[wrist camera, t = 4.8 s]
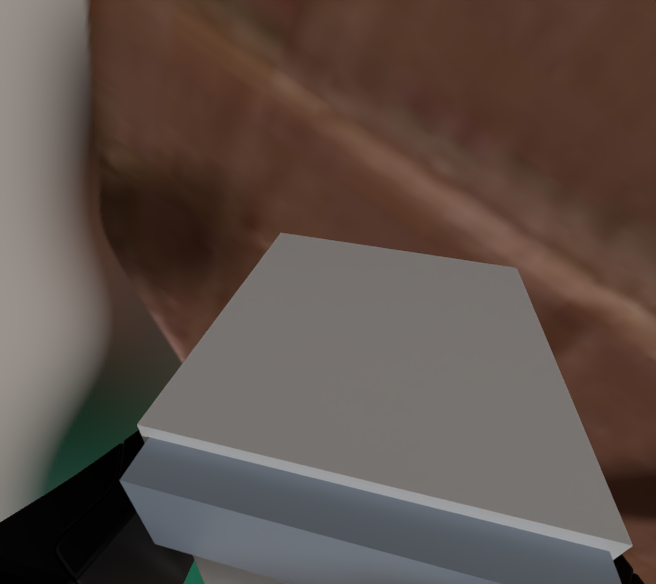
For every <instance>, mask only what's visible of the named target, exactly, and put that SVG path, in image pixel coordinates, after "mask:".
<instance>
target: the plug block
mask: <svg viewBox="0 0 656 584" xmlns="http://www.w3.org/2000/svg"><path fill="white" fill-rule="evenodd" d="M137 426H138V428H139V431H140V433H141V435H142V438H143V440H144V442H145V444H144V446H143V447H142V449H141V450H140V451H139V453H138V454H137V456H136V457H135V459H134V460H133V461H132V463H131V464H130V466H129V467H128V469H127V470H126V472H125V473H124V474H123V476H122V477H121V479H120V480H119V481H120V482H121V484H122V486H123V488H124V489H125V491H126V493H127V495H128V497H129V498H130V500H131V502H132V504H133V506H134V507H135V509H136V511H137V513H138V515H139V516H140V518H141V520H142V522H143V524H144V525H145V527H146V529H147V531H148V533H149V534H150V536H151V538H152V540H153V541H154V543H155V544H157V545H160V546H164V547H167V548H171V549H174V550H177V551H181V552H184V553H188V554H191V555H193V557H194V560H195V562H196V564H197V567H198V569H199V571H200V574H201V576H202V578H203V581H204V583H205V584H621V581H620V578H619V575H618V573H617V570H616V567H615V565H614V562H613V560H614V559H615V558H617V557H618V556H619V555H621V554H622V553H624V552H625V551H626V550H628V549H629V548H630V547H632V546H633V545H632V542H631V540H630V538H629V535H628V533H627V530H626V528H625V526H624V523H623V521H622V518H621V516H620V514H619V511H618V509H617V507H616V504H615V502H614V499H613V497H612V495H611V492H610V490H609V487H608V485H607V483H606V480H605V478H604V475H603V473H602V471H601V468H600V466H599V464H598V461H597V459H596V456H595V454H594V452H593V449H592V447H591V444H590V442H589V440H588V437H587V435H586V432H585V430H584V428H583V425H582V423H581V421H580V418H579V416H578V413H577V411H576V409H575V406H574V404H573V401H572V399H571V397H570V394H569V392H568V389H567V387H566V385H565V382H564V380H563V378H562V375H561V373H560V370H559V368H558V366H557V363H556V361H555V358H554V356H553V354H552V351H551V349H550V346H549V344H548V342H547V339H546V337H545V334H544V332H543V330H542V327H541V325H540V323H539V320H538V318H537V315H536V313H535V311H534V308H533V306H532V303H531V301H530V299H529V296H528V294H527V291H526V289H525V287H524V284H523V282H522V280H521V277H520V275H519V272H518V270H517V268H513V267H507V266H500V265H493V264H487V263H480V262H473V261H466V260H460V259H453V258H446V257H440V256H433V255H426V254H420V253H413V252H406V251H400V250H393V249H386V248H379V247H373V246H366V245H359V244H353V243H346V242H339V241H333V240H326V239H319V238H312V237H306V236H299V235H292V234H286V233H280V235H279V236H278V237H277V239H276V240H275V241H274V243H273V244H272V245H271V247H270V248H269V249H268V251H267V252H266V253H265V255H264V256H263V257H262V259H261V260H260V261H259V263H258V264H257V265H256V267H255V268H254V269H253V271H252V272H251V273H250V275H249V276H248V277H247V279H246V280H245V281H244V283H243V284H242V285H241V287H240V288H239V289H238V291H237V292H236V293H235V295H234V296H233V297H232V299H231V300H230V301H229V303H228V304H227V305H226V307H225V308H224V309H223V311H222V312H221V313H220V315H219V316H218V317H217V319H216V320H215V321H214V323H213V324H212V325H211V327H210V328H209V329H208V331H207V332H206V333H205V335H204V336H203V337H202V339H201V340H200V341H199V343H198V344H197V345H196V347H195V348H194V349H193V351H192V352H191V353H190V355H189V356H188V357H187V359H186V360H185V361H184V363H183V364H182V365H181V367H180V368H179V369H178V371H177V372H176V373H175V375H174V376H173V377H172V379H171V380H170V381H169V383H168V384H167V385H166V387H165V388H164V389H163V391H162V392H161V393H160V395H159V396H158V397H157V399H156V400H155V401H154V403H153V404H152V405H151V407H150V408H149V409H148V411H147V412H146V413H145V415H144V416H143V418H142V419H141V420H140V421H139V423H138V424H137Z"/></svg>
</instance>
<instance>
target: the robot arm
mask: <svg viewBox="0 0 656 584" xmlns="http://www.w3.org/2000/svg"><path fill="white" fill-rule="evenodd" d="M144 444H145V442H144V440H143V438H142V435H141V433H140V431H139V430H138V431H136V432H135V433H134V434H132V435H131V436H130V437H128V438H127V439H125V440H124V442H123V444H122V443H120V444H119V445H117V446H116V447H114V448H113V449H111V450H110V451H109V452H108V453H106V454H105V455H103V456H102V457H100V458H99V459H98V460H96V461H95V462H94V463H92V464H91V465H89V466H88V467H86V468H85V469H83V470H82V471H80V472H79V473H77V474H76V475H75V476H73V477H72V478H70V479H68V480H67V481H65V482H64V483H62V484H61V485H59V486H57V487H56V488H54V489H53V490H51V491H50V492H48V493H47V494H45V495H44V496H42V497H40V498H39V499H37V500H35V501H34V502H32V503H31V504H29V505H28V506H26V507H24V508H23V509H21V510H20V511H18V512H16V513H15V514H13V515H11V516H10V517H8V518H7V519H5V520H3V521H2V522H0V584H183V583H184V581H185V579H186V577H187V575H188V572H189V570H190V568H191V566H192V564H193V562H194V557H193V555H191V554H188V553H184V552H181V551H177V550H174V549H171V548H167V547H164V546H160V545H157V544H155V543H154V541H153V540H152V538H151V536H150V534H149V533H148V531H147V529H146V527H145V525H144V524H143V522H142V520H141V518H140V516H139V515H138V513H137V511H136V509H135V507H134V506H133V504H132V502H131V500H130V498H129V497H128V495H127V493H126V491H125V489H124V488H123V486H122V484H121V482H120V481H119V480H120V479H121V477H122V476H123V474H124V473H125V472H126V470H127V469H128V467H129V466H130V464H131V463H132V461H133V460H134V459H135V457H136V456H137V454H138V453H139V451H140V450H141V449H142V447H143V446H144ZM613 562H614V565H615V567H616V570H617V573H618V575H619V578H620V581H621V584H644V583H643V581H642V580H641V579H640V577H639V576H638V575H637V574H635V573H634V574H633V568H632V567H631V566H630V564H629V563H628V562H627V560H626V559H625V558H624V556H623V555H622V554H621V555H619V556H618V557H617V558H615V559H614V560H613Z"/></svg>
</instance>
